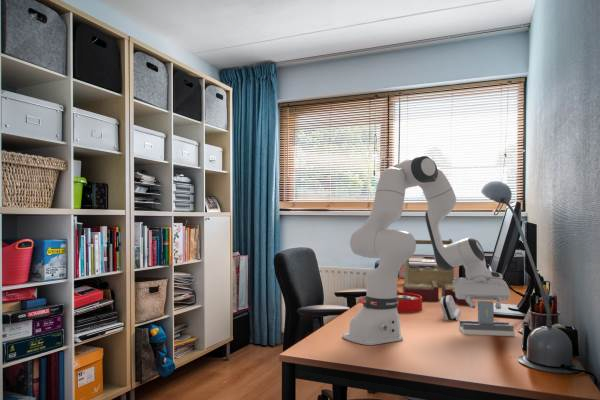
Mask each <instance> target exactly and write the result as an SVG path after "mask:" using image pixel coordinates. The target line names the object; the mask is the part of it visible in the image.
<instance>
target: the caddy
mask: <svg viewBox="0 0 600 400" xmlns="http://www.w3.org/2000/svg"><path fill="white" fill-rule="evenodd" d="M415 242H416V245H432V243H431V239H430V240H427V239H415ZM442 243H443V245H448V244H451V243H454V242H453V239H452V238H449V239H448V240H447V239H446V240H443V239H442ZM454 270H455V268H453V269H451V270H448V271H447V270H443V269H441V268H424V267H423V268H418V267H417V268H416V267H415V268H414V267H413V268H412V267H410V258H409V259H408V260H407V261H405V263H404V277H403V278H404V279H403V280H404V281H403V282H404V284H406V285H407V284H408V286H410V285H411V283H412V285H413V284H414V285H413V286H415V285H416V284H417V285H418V284H421V283H422V284H424V285H427V286H430V285H429V284H430V282H431V281H432V282H433V281H437V283H438V286H439V287H442V285H443V284H444V285H445V284H446V285H447V286H448V285H449V284H450V285H449V286H450V287H452V286H453V279H455V276H454V275H455V271H454ZM433 284H434V283H433ZM406 285H405V286H406ZM446 285H445V287H446ZM451 285H452V286H451ZM453 287H454V286H453Z"/></svg>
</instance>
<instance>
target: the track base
mask: <svg viewBox="0 0 600 400" xmlns="http://www.w3.org/2000/svg"><path fill="white" fill-rule="evenodd" d="M458 322H459V324H458V329H459V331H460V332H461V333H462V334H464V335H472V336H473V335H478V336H501V337H503V336H504V337H506V336H507V337H515V335H516V334H515V333H516V332H515V331H514V330H515V329H514V325H512V324H510V322H508V321H494V324H478V320H465V319H464V320H462V319H461V320H458Z"/></svg>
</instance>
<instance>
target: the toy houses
mask: <svg viewBox="0 0 600 400" xmlns="http://www.w3.org/2000/svg"><path fill="white" fill-rule="evenodd" d="M433 283H434V284H433ZM413 285H414V284H413ZM413 285H412V283H411V285H410V286H408V284H407V285H406V284H405V283H403V284H402V292H403V293H412V294H417V295H420V296H422V302H423V301H426V302H439V289H440V288H439V287H440V286H438V283H437V281H433V282H432V281H431V282H430V284H429V285H430V286H427V285H424V284H422V283H421V284H418V285H417V284H416V285H415V286H413ZM445 285H446V284H445ZM445 285H444V284H443V285H442V286H441V298H442V297H444V296H445V297H446V296H448V295H451V296H452V297H453V300H454V302H455V305H461V306H462V305H465V306H470V305H469V304H468V303H467V302H466V299H458V298H456V296H455V287H453V286H454V285H453V286H452V285H451V286H452V287H450V286H449V285H450V284H449V285H448V286H447V285H446V286H445ZM397 292H401V291H400V290H398V289H397ZM470 300H471V301H472V299H470Z"/></svg>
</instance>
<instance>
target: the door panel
mask: <svg viewBox="0 0 600 400" xmlns="http://www.w3.org/2000/svg"><path fill="white" fill-rule="evenodd" d="M494 306H495V305H494V302H493V301H492V300H478V301H477V321H478V324H494V322H495V319H494V315H495V314H494V313H495V312H494Z"/></svg>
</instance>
